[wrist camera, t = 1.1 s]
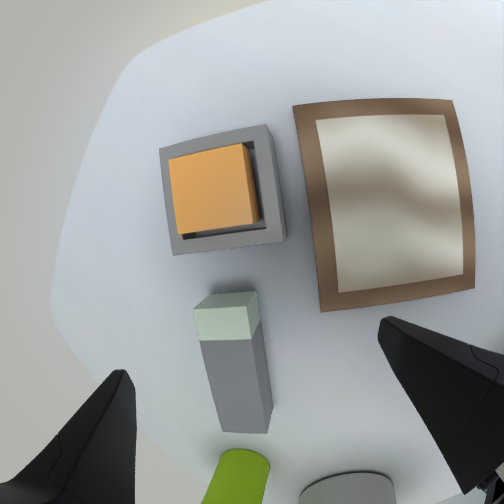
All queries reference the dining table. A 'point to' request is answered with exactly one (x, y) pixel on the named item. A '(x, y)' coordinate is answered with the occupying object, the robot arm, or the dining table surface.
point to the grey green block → (235, 360)
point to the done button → (213, 189)
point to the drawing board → (387, 200)
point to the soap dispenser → (238, 478)
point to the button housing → (265, 186)
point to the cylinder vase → (351, 490)
